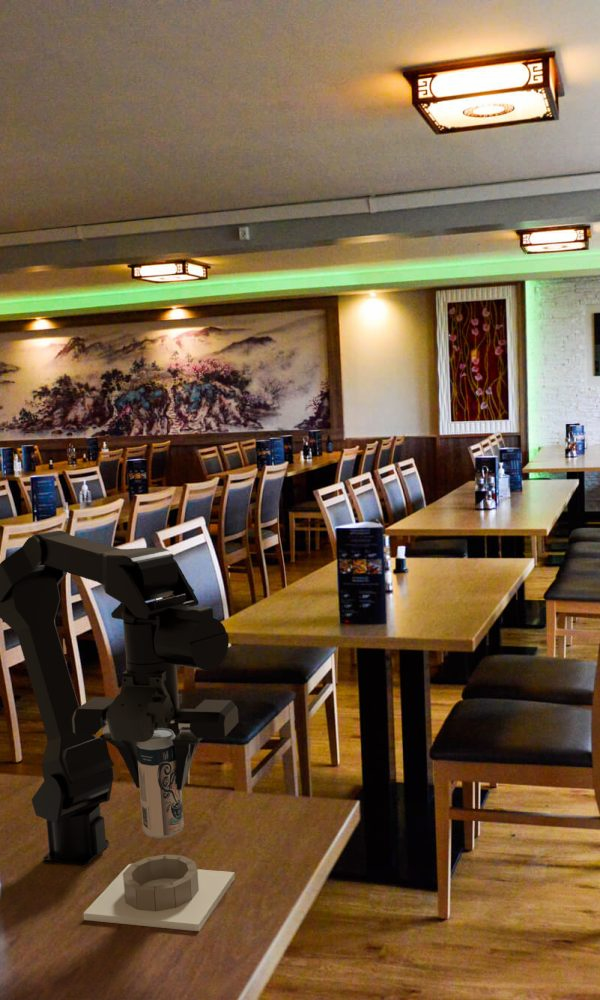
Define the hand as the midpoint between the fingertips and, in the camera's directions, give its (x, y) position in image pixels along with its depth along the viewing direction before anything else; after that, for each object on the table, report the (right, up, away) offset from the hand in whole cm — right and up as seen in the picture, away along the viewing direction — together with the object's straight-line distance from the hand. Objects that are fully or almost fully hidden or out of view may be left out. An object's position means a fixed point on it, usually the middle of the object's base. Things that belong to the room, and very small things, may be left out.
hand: (160, 787), depth 114 cm
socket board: (0, -13, 0) cm, 13 cm away
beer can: (0, -6, +1) cm, 6 cm away
